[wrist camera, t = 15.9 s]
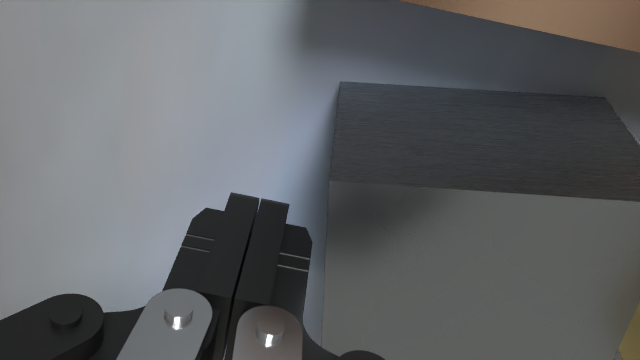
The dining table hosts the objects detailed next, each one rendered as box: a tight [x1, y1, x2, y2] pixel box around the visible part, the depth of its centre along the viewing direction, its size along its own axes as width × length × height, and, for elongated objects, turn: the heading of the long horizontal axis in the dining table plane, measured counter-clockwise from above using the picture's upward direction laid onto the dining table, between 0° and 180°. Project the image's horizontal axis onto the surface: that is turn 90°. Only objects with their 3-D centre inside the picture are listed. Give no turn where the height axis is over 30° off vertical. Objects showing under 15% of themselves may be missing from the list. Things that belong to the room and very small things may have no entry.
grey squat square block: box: [321, 82, 640, 360], centre depth 16 cm, size 7×7×5 cm
